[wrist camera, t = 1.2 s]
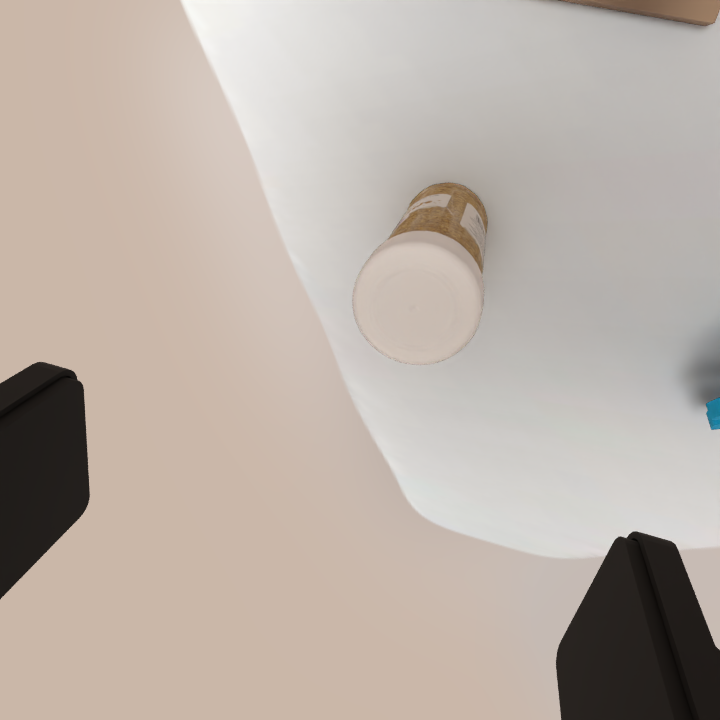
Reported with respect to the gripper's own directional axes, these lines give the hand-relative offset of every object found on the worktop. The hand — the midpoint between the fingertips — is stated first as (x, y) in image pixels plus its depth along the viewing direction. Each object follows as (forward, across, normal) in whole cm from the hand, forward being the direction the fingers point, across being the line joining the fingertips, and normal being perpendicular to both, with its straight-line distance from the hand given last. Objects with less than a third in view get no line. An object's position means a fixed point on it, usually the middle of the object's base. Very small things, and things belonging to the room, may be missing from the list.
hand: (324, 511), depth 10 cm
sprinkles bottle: (+24, 0, 0) cm, 24 cm away
